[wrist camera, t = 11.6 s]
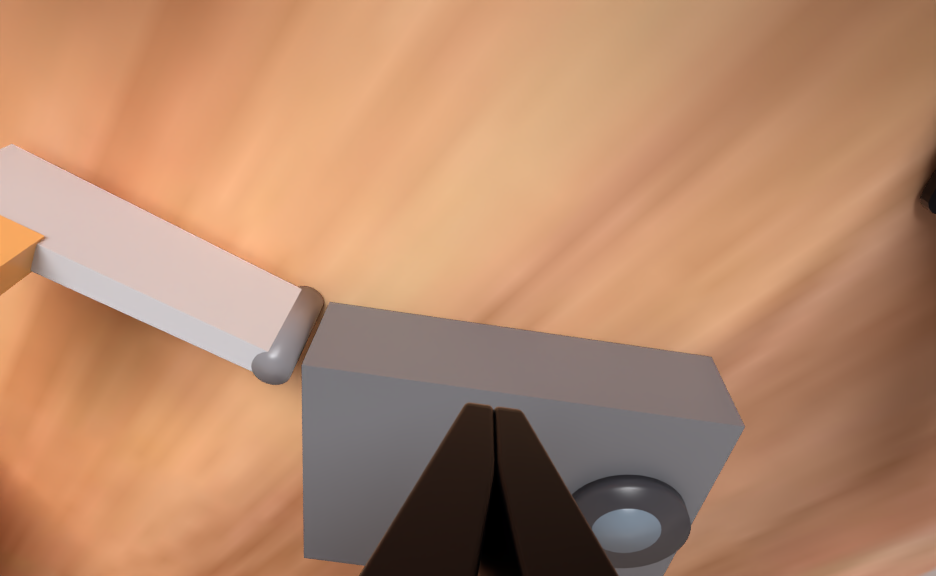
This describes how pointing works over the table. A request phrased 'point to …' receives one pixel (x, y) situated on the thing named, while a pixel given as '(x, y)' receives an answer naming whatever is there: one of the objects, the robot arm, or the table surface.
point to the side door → (148, 268)
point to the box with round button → (513, 386)
